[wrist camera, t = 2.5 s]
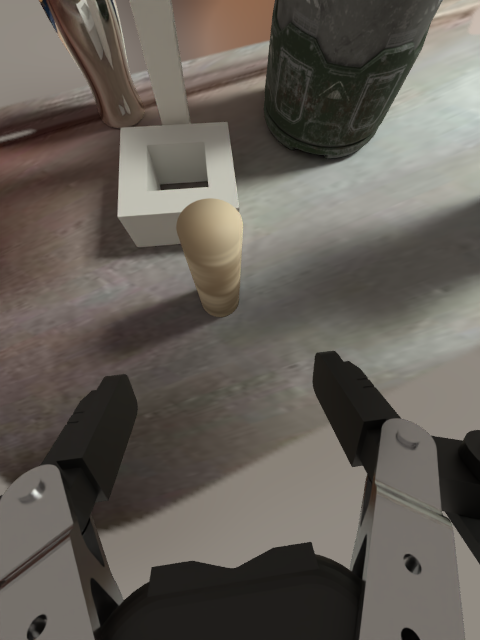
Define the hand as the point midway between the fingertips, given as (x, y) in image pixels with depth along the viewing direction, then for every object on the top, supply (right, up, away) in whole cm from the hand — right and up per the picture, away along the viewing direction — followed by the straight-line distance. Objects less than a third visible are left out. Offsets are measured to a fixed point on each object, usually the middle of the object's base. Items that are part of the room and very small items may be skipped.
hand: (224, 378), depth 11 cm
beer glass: (-16, +31, +23) cm, 42 cm away
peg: (-1, +5, +16) cm, 16 cm away
